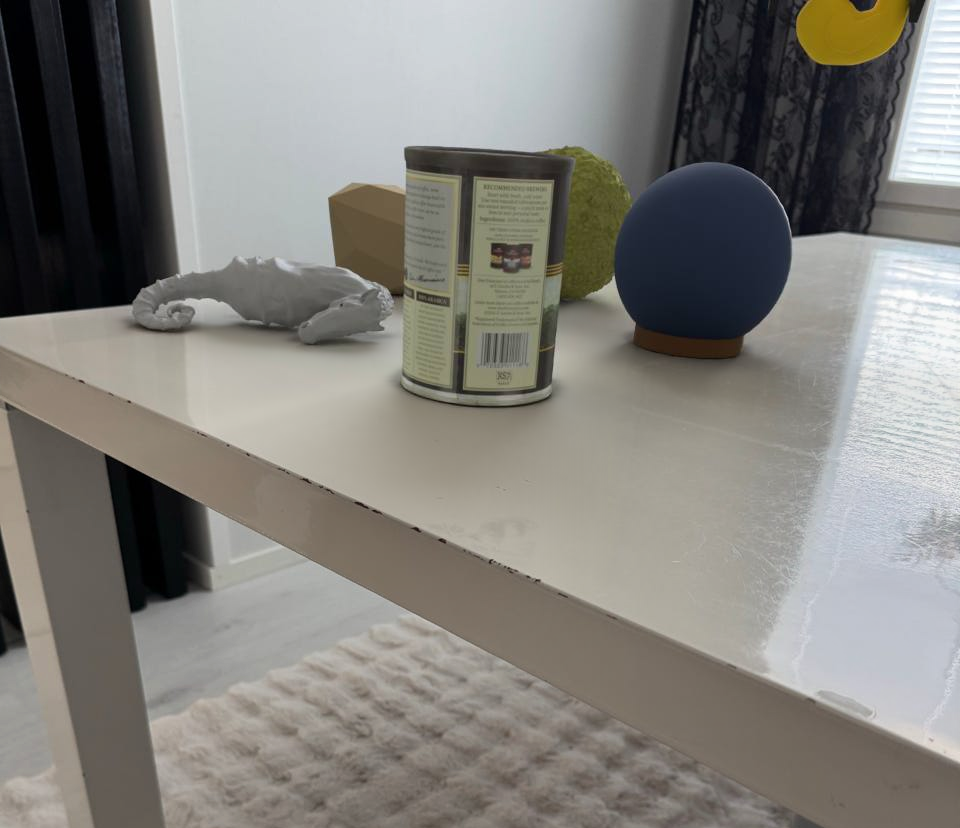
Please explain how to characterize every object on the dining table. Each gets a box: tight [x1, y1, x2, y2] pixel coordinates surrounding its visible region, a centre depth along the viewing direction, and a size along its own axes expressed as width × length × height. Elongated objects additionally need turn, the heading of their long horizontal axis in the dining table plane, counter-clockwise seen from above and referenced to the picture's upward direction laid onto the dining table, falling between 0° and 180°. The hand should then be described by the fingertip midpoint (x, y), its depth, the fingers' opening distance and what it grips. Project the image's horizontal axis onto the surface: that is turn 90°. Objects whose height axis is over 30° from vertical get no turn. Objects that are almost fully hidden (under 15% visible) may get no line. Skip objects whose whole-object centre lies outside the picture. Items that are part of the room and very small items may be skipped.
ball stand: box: [614, 161, 793, 359], centre depth 77 cm, size 14×14×14 cm
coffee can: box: [400, 145, 576, 407], centre depth 61 cm, size 10×10×14 cm
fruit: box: [535, 144, 634, 301], centre depth 95 cm, size 16×14×15 cm
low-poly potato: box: [327, 182, 406, 295], centre depth 92 cm, size 15×11×12 cm
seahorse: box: [131, 255, 395, 345], centre depth 74 cm, size 5×12×20 cm
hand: (845, 4), depth 83 cm, fingers closed on duckling, 11 cm apart
